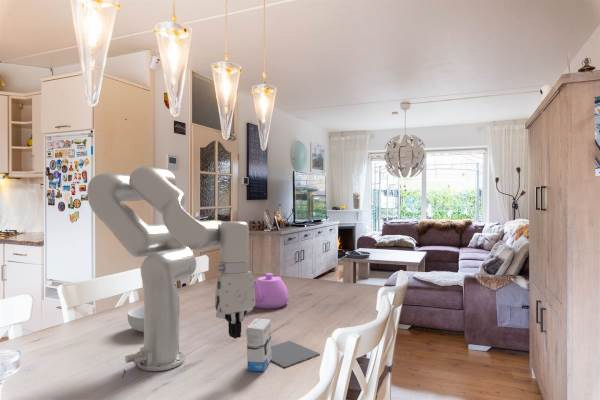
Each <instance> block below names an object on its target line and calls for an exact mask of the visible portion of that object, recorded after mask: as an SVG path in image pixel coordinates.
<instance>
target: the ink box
mask: <svg viewBox="0 0 600 400" xmlns="http://www.w3.org/2000/svg"><path fill="white" fill-rule="evenodd" d="M271 346H272V319H271V318H270V319H268V318H258V317H257V318H254V319H253V321H252V322H251V323H250V324H248V326H247V327H246V352H247V353H246V356H247V357H246V358H247V359H246V360H247V371H248V372H265V370H266V369H267V367H268V365H269V364H270V362H271V361H270V360H271V359H272V355H271Z"/></svg>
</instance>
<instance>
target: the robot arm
mask: <svg viewBox="0 0 600 400" xmlns="http://www.w3.org/2000/svg"><path fill="white" fill-rule="evenodd" d="M86 192H87V193H86V195H87V200H88V204H89V207H90V209H91V211H92V212H93V213H94V214H95V216H96V217H97V218H98V219H99V220H100V221H101V222H102V223H103V224H104V225H105V226H106V227H107V228H108V229H109V231H110V232H111V233H112V235H114V237H115V238H116V239H117V241H119V243H120V244H121V245H122V247H124V249H125V250H126V251H127V252H128V254H129V255H131V256H133V257H135V258H143V257H144V260H143V261H142V263H141V267H140V276H141V277H140V278H141V281H142V286H143V303H144V304H143V306H144V333H143V346H142V347H140V349H139V351H137V352H136V353H131V354H128V355H126V356H125V358H124V360H125V363H126V364H129V363H132V362H133V364H136V365H137V368H139V369H141V370H143V371H147V372H161V371H167V370H171V369H174V368H176V367H178V366H180V365H182V364H183V363H184V362H185V357H186V356H185V353H184V352H183V351H180V310H181V309H180V303H181V301H180V295H179V291H178V289H177V286H176V282H178V281H181V280H185V279H187V278H189V277H191V276H192V275H193V274H194V273H195V271H196V269H197V259H196V256H195V254H194V253H193V251H192V250H194V251H202V250H203V251H204V250H207V249H212V248H216V247H219V249H220V250H219V251H220V252H219V253H220V254H219V258H220V259H219V265H217V266H216V271H217V272H218V271H219V273H218V274H217V280H216V286H215V295H214V296H215V298H214V307H215V310H216V313H215V314H216V315H215V317H216V318H218V319H224V320H226V322H228V324H227V325H228V336H229V337H231V338H233V339H238V338H241V337H242V322H243V321H244V318H245V316H246V315H247V314H248V313H250V312H252V311H253V309H254V308H255V307H254V306H255V289H254V281H255V280H254V277H253V273H252V271H251V270H250V249H249V248H250V246H249V245H250V240H249V238H250V237H249V236H250V233H249V231H250V229H249V224H248V222H246V221H243V220H242V221H241V220H240V221H239V220H235V221H230V220H228V221H226V220H225V221H223V220H219V219H211V220H208V219H206V220H198V219H196V218H194V217H193V216H192V215H191V214H190V213H188V212H187V211H186V210H185V209H184V208H183V207H184V204H185V203H186V195H185V193H184V191H182V190H181V189H180V188H178V187H177V179H176V176H175V175H174V174H173V172H171V171H170V170H168V169H167V168H162V167H154V166H140V167H137V168H135V169H134V170H133V171H132V172H130V174H129V173H118V172H104V173H99V174H96V175H94V176H93V177H92V178H90V181H89V182H88V185H87V191H86ZM138 201H145V202H146V203H148V205H150V206H151V207H153V208H154V209H155V211H157V212H158V213H159V214H161V216H162V220H163V223H147V222H145V221H144V220H143V219H142V218H141V217H140V216H139V215H138V213H137V212H136V211H135V210H133V208H131V207H130V206H128V205H126V204H125V203H123V202H138ZM253 280H254V281H253Z"/></svg>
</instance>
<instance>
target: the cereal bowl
mask: <svg viewBox="0 0 600 400" xmlns="http://www.w3.org/2000/svg"><path fill="white" fill-rule="evenodd" d="M127 322H128V324H129V326H130V328H132V329H133V330H135V331H138V332H142V333H143V334H144V305H140V306H136V307H134V308H131V309H130V310H128V312H127Z"/></svg>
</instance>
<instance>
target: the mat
mask: <svg viewBox="0 0 600 400" xmlns="http://www.w3.org/2000/svg"><path fill="white" fill-rule="evenodd" d="M271 355H272V359H271V360H270V362H271V361H272V363H273V362H274V364H275V363H276V365H277V364H278V365H277V366H279V365H280V366H279V367H281V366H282V367H281V368H283V367H287V366H289V367H291V366H290V365H292V366H294V365H296V364H295V363H297V362H300V361H302V362H304V361H303V360H305V359H308V358H310V359H312V358H311V357H313V358H315V357H314V356H316V357H318V356H320V355H321V353H319V352H317V351H314V350H312V349H311V348H308V347H305V346H303V345H300V344H298V343H296V342H293V341H291V340H287V341H284V342H281V343H278V344H275V345H271ZM317 355H318V356H317ZM308 360H309V359H308ZM305 361H306V360H305ZM300 363H301V362H300ZM293 364H294V365H293ZM297 364H298V363H297ZM287 368H288V367H287Z"/></svg>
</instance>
